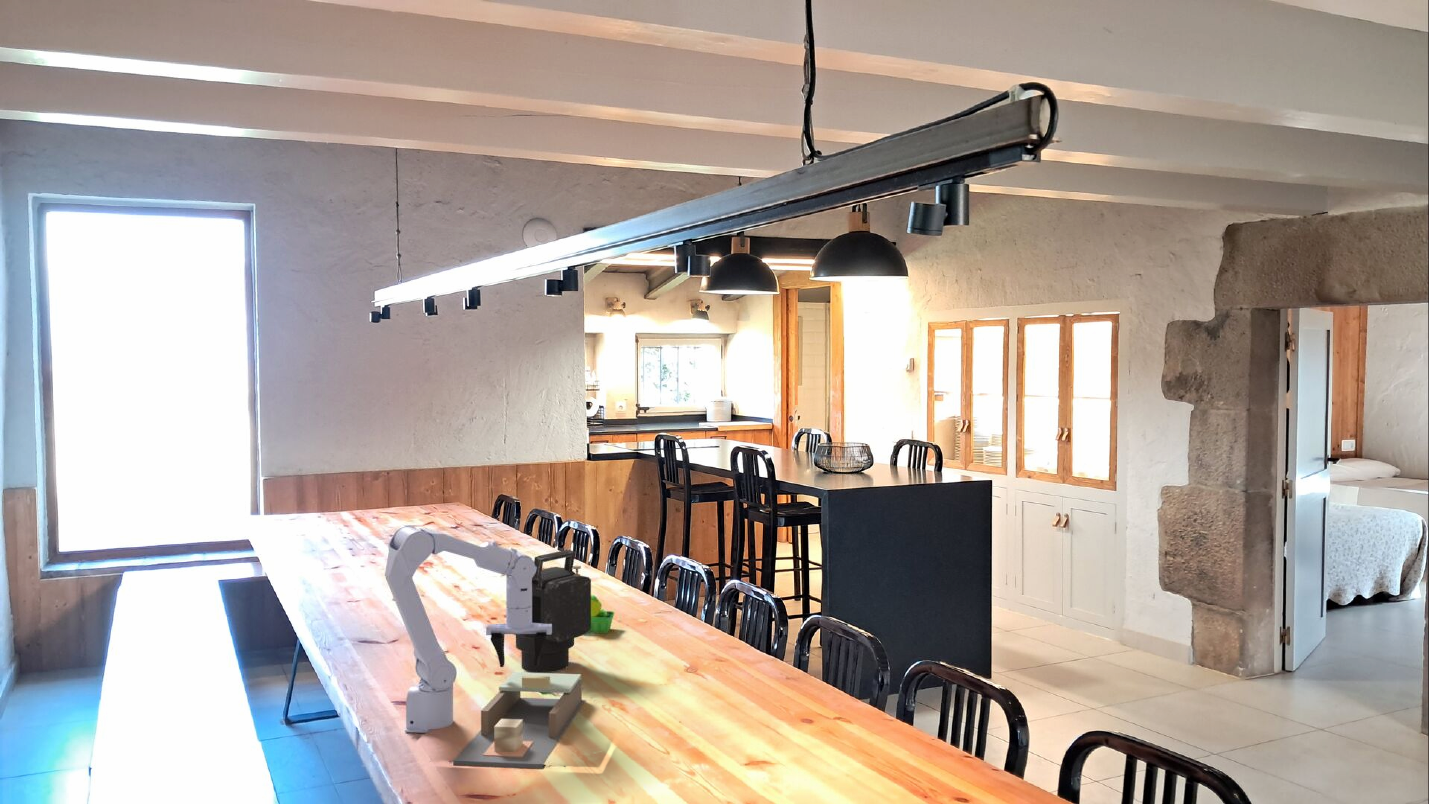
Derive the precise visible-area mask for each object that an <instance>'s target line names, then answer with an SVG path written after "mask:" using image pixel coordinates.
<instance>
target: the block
mask: <svg viewBox="0 0 1429 804" xmlns="http://www.w3.org/2000/svg"><path fill="white" fill-rule="evenodd" d="M522 744H523V720H520V719H501V720H500V721H499V722H498V723H497V724H496V725H495V726H494V751H501V752H517V751H518V749H519V748H520V747H521V746H522Z"/></svg>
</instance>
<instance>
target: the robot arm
mask: <svg viewBox="0 0 1429 804" xmlns="http://www.w3.org/2000/svg"><path fill="white" fill-rule="evenodd" d="M418 528H419V529H418ZM418 528H417V527H415V526H413V525H403V526H401V527H399V528H398V529H396V530H395V532H394V533H393V535H392V537H391V538H390V539H389V542H388V543H387V546H388V554H387V560H386V566H385V571H384V576H385V580H386V582H387V585H388V587H389V590H390V593H391V594H392V598H393V599H394V602H395V604H396V607H397V609H398V612H399V614H400V617H401V619H402V621H403V624H404V627H405V628H406V632H407V634H408V636H409V639H410V641H411V644H412V646H413V649H414V651H413V656H414V658H415V666H414V667H415V673H416V675H417V676H418V678H420V680H419V682H418V685H412V686H410V687H409V689H408V691H407V694H406V699H405V700H406V701H405V721H406V722H405V723H406V724H405V725H406V726H405V729H404V732H405V733H422V734H423V733H424V734H426V733H428V731H430V730H435V729H443V728H446V727H449V726H451V725H452V724H454V683H455V681H456V679H457V668H456V666H455V664H454V663H453V662H451V661H450V660H449V659H448V658H447V656H446V653H445V651H444V649H443V647H442V646H441V645H440V643H439V641H438V639H437V637H436V635H435V634H436V633H435V631H434V629H433V627H432V625H431V622H430V618H429V617H428V614H427V612H426V609H425V606H424V603H423V601H422V599H421V596H420V594H419V592H418V591H419V590H417V587H416V584H415V581H414V579H413V577H414V574H415V573H416V572H417V570H418V568H419V567H420V566H422V564H423V563H424V562H425V561H427V559H428V558H429V557H430V556H431V554H432V555H434V556H436V555H438V554H439V553H442V552H448V553H451V554H454V555H458V556H461V557H466V558H468V559H472V560H474V564H475V565H476V567H478V568H480V569H483V570H487V571H490V572H493V573H497V574H500V575H503V576H504V575H505V576H506V577H505V579H506V585H505V586H506V591H505V593H506V595H505V596H506V600H505V601H506V602H505V603H506V607H505V608H506V610H505V611H506V614H505V615H506V616H505V617H506V619H505V620H506V622H505V623H495V624H487V625H486V627H485V628H486V629H485V630H486V631H485V632H486V633H485V634H486V636H490V642H491V645H492V646H493V647H494V650H495V652H496V655H497V658H498V662H499V667H500V668H504V666H505V662H506V661H505V635H514V634H536V635H535V637H534V642H535V659H534V667H537V666H538V664H539V656H540V652H541V649H542V646H543V643H544V641H545V639H546V636H547V635H550V634H551V633H552V624H540V623H532V578H533V576H534V575H535V573H536V569H537V567H536V566H535V563H534V559H533V558H532V557H531V556H528V555H526V554H525V553H522V552H518V550H517V549H515V548H506V547H503V546H501V545H500V546H499V542H496V541H493V540H491V541H490V542H488V541H485V542H483V543H481V544H474V543H472V542H468V541H466V540H463V539H461V538H457V537H455V536H453V535H449V534H446V533H444V532H440V531H438V530H437V531H436V530H432V529H428V528H422V527H421V528H420V527H418Z"/></svg>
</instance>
